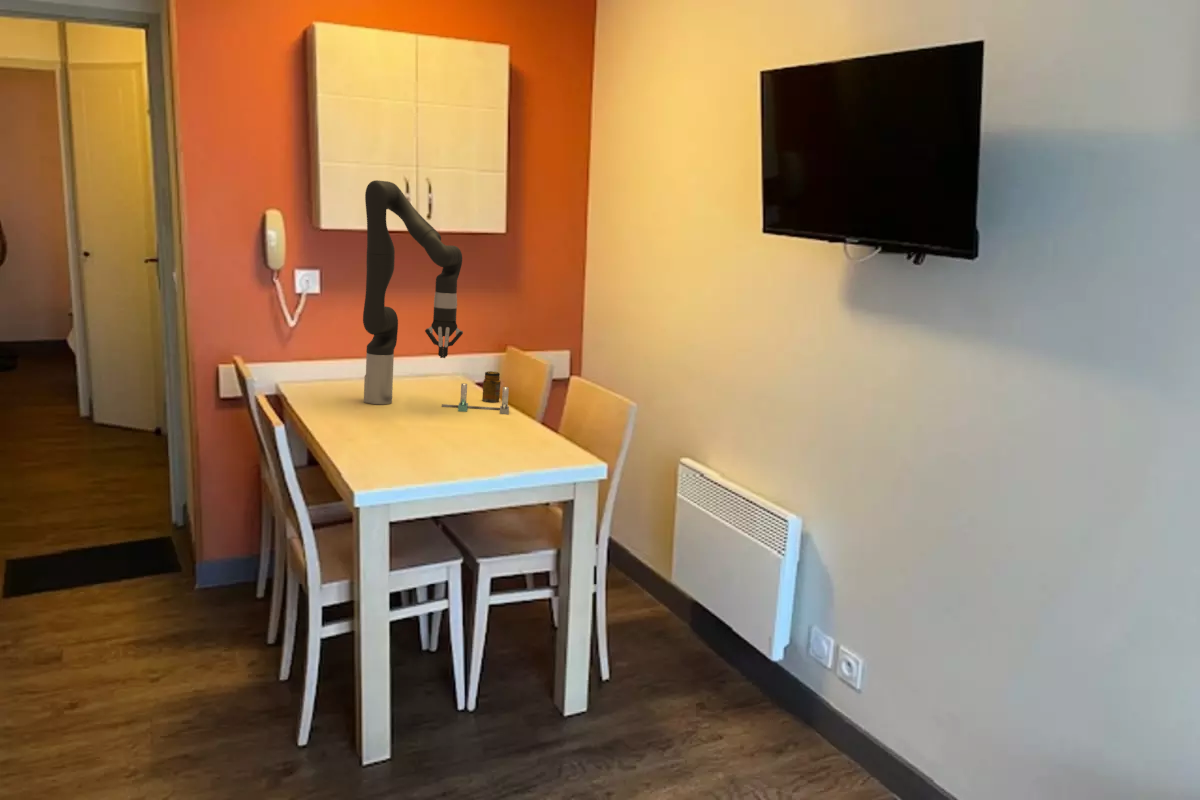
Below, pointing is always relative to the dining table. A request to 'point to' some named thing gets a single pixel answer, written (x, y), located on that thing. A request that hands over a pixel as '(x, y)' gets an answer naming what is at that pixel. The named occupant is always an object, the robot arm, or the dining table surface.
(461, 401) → the slider leg
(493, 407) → the gauge board
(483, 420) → the dining table surface
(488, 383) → the condiment
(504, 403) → the fixed leg
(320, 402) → the dining table surface
